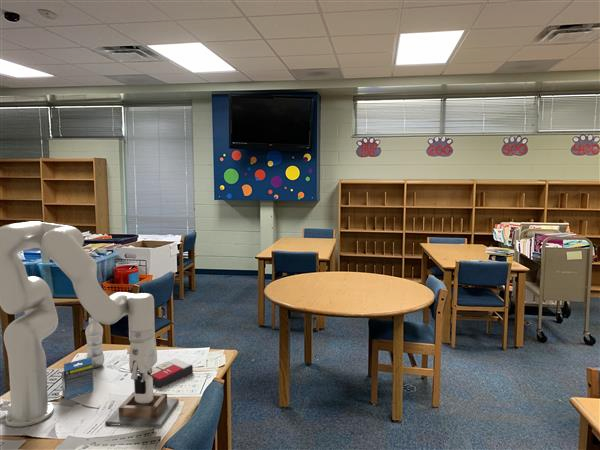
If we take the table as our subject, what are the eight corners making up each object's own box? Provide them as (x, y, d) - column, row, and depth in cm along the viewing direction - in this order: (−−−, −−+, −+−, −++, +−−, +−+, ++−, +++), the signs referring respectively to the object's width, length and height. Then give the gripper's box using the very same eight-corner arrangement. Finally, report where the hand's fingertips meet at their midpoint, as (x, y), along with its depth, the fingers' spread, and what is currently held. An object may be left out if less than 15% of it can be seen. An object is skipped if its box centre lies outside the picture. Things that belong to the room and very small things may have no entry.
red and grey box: (141, 371, 152) (175, 356, 164) (142, 382, 152) (175, 366, 164) (159, 379, 145) (192, 363, 157) (159, 391, 146) (193, 374, 158)
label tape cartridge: (90, 387, 146) (89, 353, 145) (93, 391, 143) (92, 357, 142) (62, 395, 140) (60, 360, 139) (65, 399, 137) (63, 364, 136)
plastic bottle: (107, 362, 167) (105, 314, 165) (99, 370, 160) (98, 320, 158) (91, 362, 166) (89, 314, 165) (83, 370, 160) (81, 320, 158)
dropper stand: (105, 424, 123) (104, 411, 123) (129, 399, 138) (128, 387, 138) (160, 427, 122) (160, 414, 122) (178, 401, 137) (178, 390, 137)
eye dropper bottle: (145, 395, 133) (144, 359, 132) (155, 401, 130) (154, 364, 129) (133, 400, 130) (131, 363, 129) (142, 406, 126) (141, 369, 125)
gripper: (141, 343, 119) (143, 404, 121) (164, 325, 136) (165, 378, 137) (116, 343, 120) (118, 403, 122) (142, 324, 136) (143, 377, 138)
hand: (143, 389), depth 129 cm, fingers closed on eye dropper bottle, 3 cm apart
